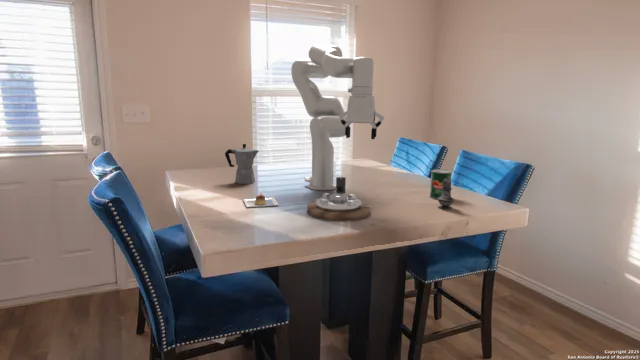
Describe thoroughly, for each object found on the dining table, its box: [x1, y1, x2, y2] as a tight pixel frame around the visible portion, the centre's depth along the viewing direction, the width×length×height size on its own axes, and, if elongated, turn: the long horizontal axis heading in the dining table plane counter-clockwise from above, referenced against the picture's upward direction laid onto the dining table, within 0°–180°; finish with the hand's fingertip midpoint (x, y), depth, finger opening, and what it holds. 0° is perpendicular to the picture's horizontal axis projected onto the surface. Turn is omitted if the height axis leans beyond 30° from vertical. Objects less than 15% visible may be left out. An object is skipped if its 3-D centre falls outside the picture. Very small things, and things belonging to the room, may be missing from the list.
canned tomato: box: [429, 168, 452, 200], centre depth 171 cm, size 8×8×11 cm
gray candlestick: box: [437, 176, 455, 211], centre depth 155 cm, size 6×6×12 cm
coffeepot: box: [224, 143, 260, 185], centre depth 197 cm, size 15×9×18 cm, turn 103°
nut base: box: [306, 200, 371, 222], centre depth 150 cm, size 22×22×2 cm
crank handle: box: [315, 176, 362, 212], centre depth 153 cm, size 24×16×7 cm
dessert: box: [242, 192, 280, 209], centre depth 160 cm, size 12×12×5 cm
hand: (360, 138), depth 160 cm, fingers open, 9 cm apart
